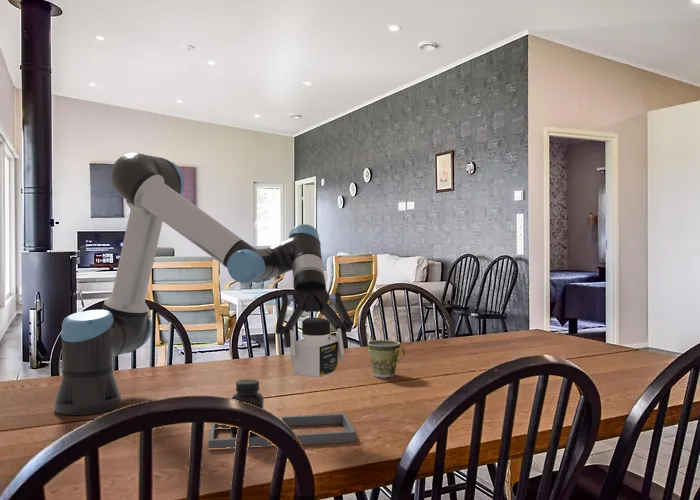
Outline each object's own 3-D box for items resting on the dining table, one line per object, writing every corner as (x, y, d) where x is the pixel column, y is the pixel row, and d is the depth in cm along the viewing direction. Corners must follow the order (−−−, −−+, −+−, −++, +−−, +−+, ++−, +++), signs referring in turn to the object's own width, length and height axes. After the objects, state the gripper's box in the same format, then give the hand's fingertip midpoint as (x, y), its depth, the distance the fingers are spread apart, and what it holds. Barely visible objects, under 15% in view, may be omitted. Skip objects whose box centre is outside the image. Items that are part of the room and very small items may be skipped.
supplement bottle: (256, 444, 123) (256, 386, 123) (225, 441, 124) (225, 384, 124) (268, 433, 130) (267, 378, 129) (238, 430, 131) (238, 376, 131)
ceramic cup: (360, 375, 182) (360, 342, 181) (381, 370, 189) (381, 338, 189) (393, 383, 173) (394, 348, 172) (414, 376, 180) (414, 344, 180)
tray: (208, 450, 119) (208, 440, 119) (211, 429, 132) (211, 420, 132) (355, 441, 125) (355, 432, 125) (344, 421, 138) (344, 413, 137)
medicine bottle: (320, 378, 125) (320, 321, 125) (292, 374, 129) (292, 319, 129) (338, 371, 132) (338, 317, 131) (311, 367, 135) (311, 315, 135)
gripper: (352, 287, 147) (366, 365, 132) (261, 288, 143) (264, 369, 128) (357, 267, 142) (371, 346, 127) (261, 268, 137) (265, 349, 122)
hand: (317, 357), depth 127 cm, fingers closed on medicine bottle, 10 cm apart
